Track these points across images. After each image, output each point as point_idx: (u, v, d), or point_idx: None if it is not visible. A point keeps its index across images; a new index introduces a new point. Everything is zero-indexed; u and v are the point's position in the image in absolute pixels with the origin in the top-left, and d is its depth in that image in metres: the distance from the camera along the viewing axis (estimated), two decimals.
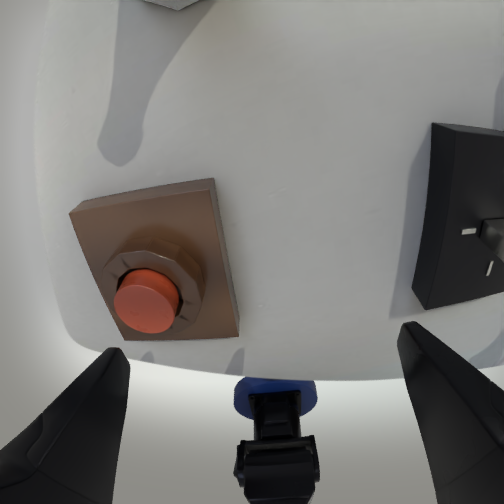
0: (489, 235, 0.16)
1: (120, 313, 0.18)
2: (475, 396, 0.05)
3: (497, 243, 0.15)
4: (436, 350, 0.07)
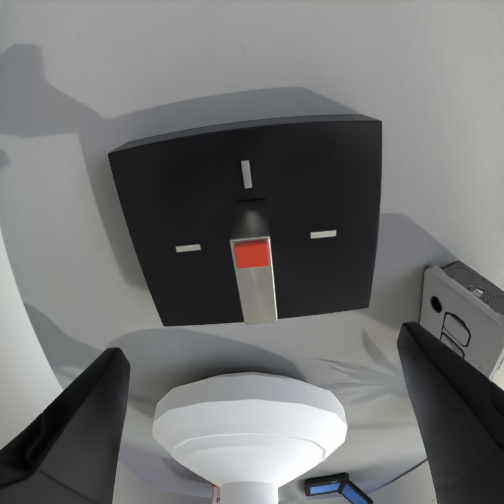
0: (251, 208, 0.14)
1: None
2: (475, 396, 0.05)
3: (250, 217, 0.13)
4: (436, 350, 0.07)
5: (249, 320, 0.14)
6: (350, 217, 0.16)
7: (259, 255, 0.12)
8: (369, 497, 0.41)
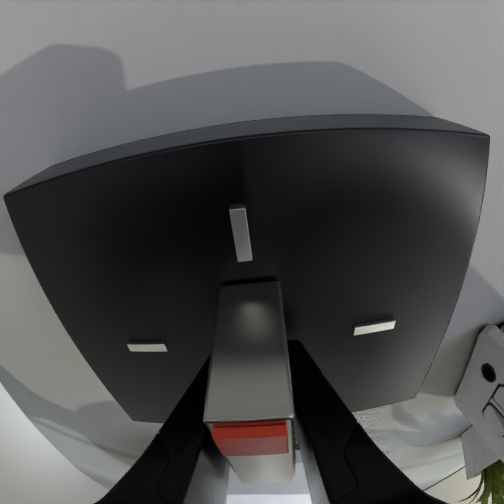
0: (252, 307, 0.07)
1: None
2: (326, 437, 0.05)
3: (249, 340, 0.06)
4: (304, 375, 0.07)
5: (248, 482, 0.07)
6: (420, 299, 0.08)
7: (269, 445, 0.05)
8: None
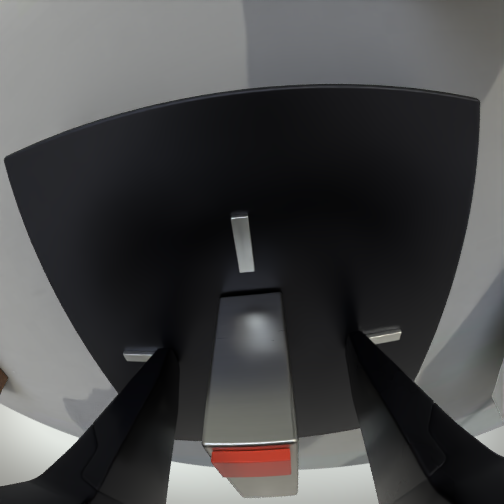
0: (253, 321, 0.07)
1: None
2: (411, 418, 0.05)
3: (250, 358, 0.06)
4: (376, 364, 0.07)
5: (249, 496, 0.06)
6: (196, 181, 0.06)
7: (271, 468, 0.04)
8: None
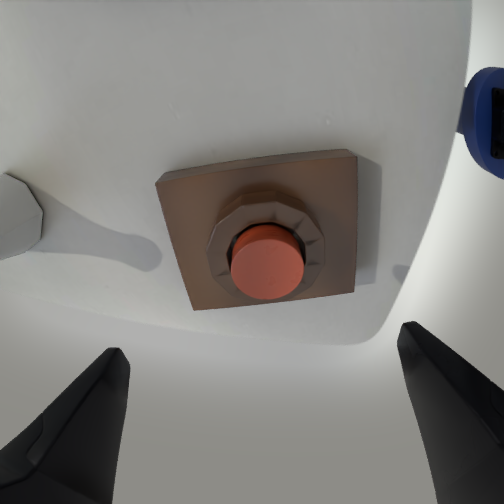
0: None
1: (272, 295, 0.17)
2: (475, 396, 0.05)
3: None
4: (436, 350, 0.07)
5: None
6: None
7: None
8: None
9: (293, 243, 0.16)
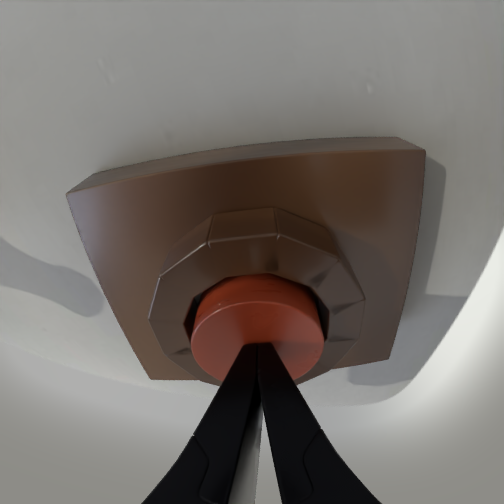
0: None
1: None
2: (287, 442, 0.05)
3: None
4: (272, 379, 0.07)
5: None
6: None
7: None
8: None
9: (307, 304, 0.08)
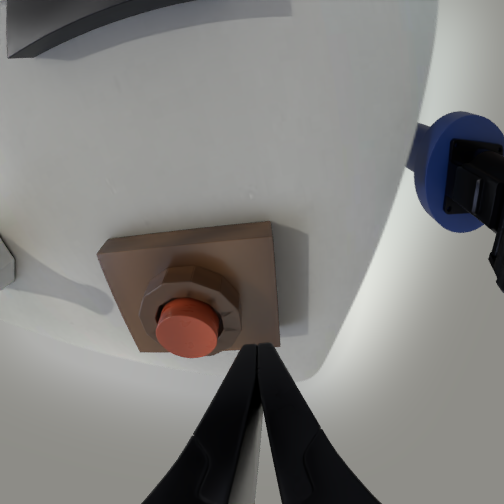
0: None
1: (193, 355, 0.19)
2: (287, 442, 0.05)
3: None
4: (272, 379, 0.07)
5: None
6: None
7: None
8: None
9: (206, 317, 0.18)
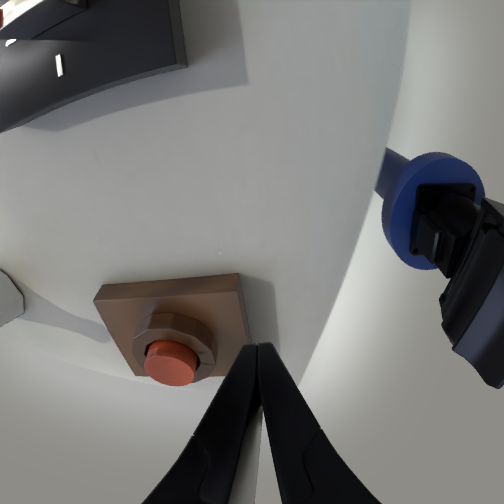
0: None
1: (176, 384, 0.22)
2: (287, 442, 0.05)
3: None
4: (272, 379, 0.07)
5: None
6: (0, 59, 0.11)
7: None
8: None
9: (184, 356, 0.21)
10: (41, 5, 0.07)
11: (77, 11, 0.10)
